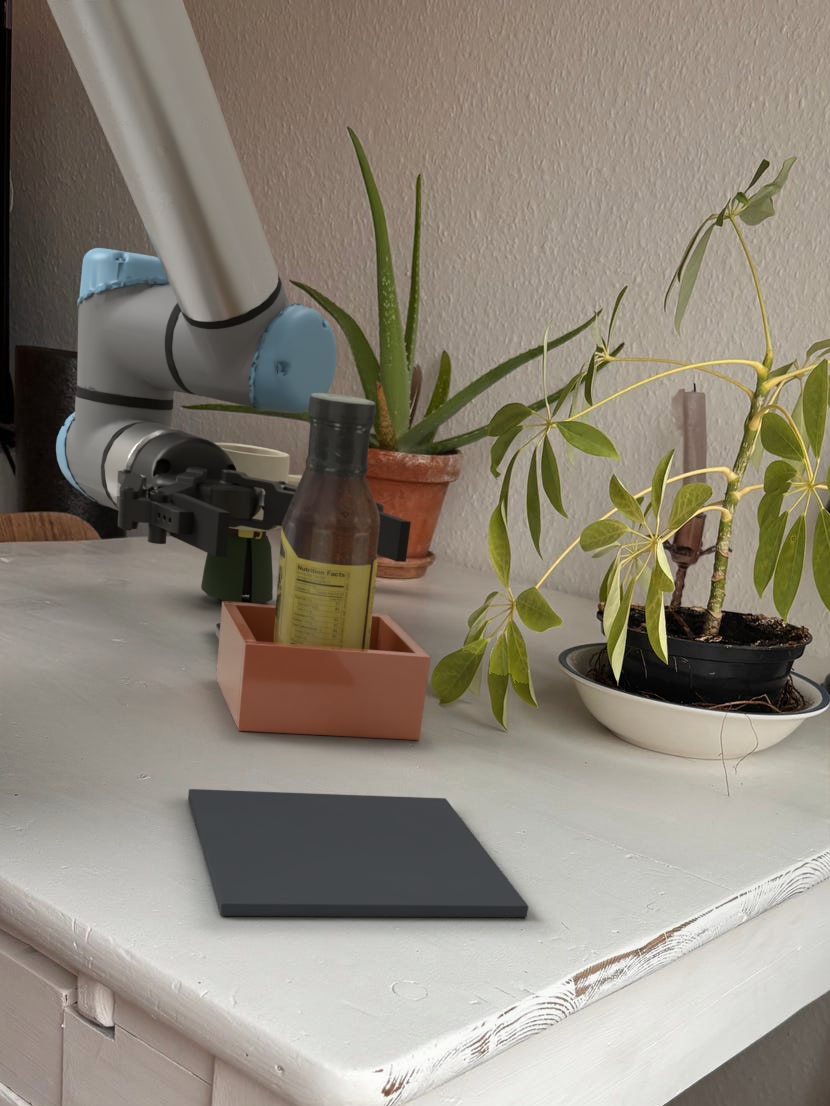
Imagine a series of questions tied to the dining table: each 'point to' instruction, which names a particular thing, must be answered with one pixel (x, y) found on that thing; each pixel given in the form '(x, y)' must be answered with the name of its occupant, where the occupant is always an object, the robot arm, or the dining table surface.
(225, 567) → the character mug
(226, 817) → the mat
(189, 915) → the dining table surface
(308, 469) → the sauce bottle
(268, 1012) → the dining table surface
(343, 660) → the holder
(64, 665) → the dining table surface
